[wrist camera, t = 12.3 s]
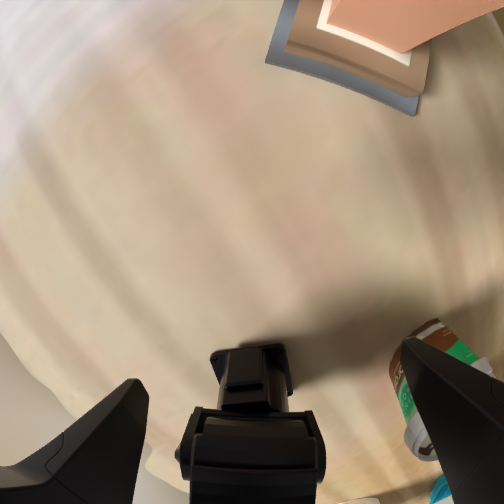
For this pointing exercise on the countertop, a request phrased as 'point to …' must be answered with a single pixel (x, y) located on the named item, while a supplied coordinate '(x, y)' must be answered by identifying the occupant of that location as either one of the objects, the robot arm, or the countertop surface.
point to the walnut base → (347, 56)
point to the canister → (362, 501)
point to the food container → (415, 430)
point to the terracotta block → (405, 18)
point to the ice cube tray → (440, 490)
